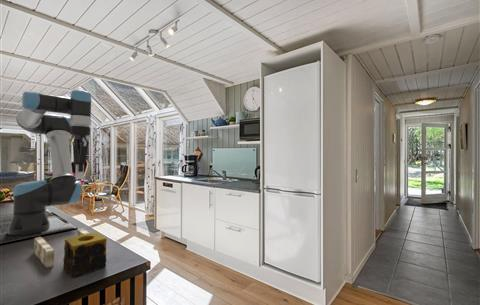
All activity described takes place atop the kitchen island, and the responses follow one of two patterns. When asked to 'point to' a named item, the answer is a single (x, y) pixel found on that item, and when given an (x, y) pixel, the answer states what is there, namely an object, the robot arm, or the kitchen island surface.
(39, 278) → the kitchen island surface
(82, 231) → the rail
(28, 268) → the kitchen island surface
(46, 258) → the rail
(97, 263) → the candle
